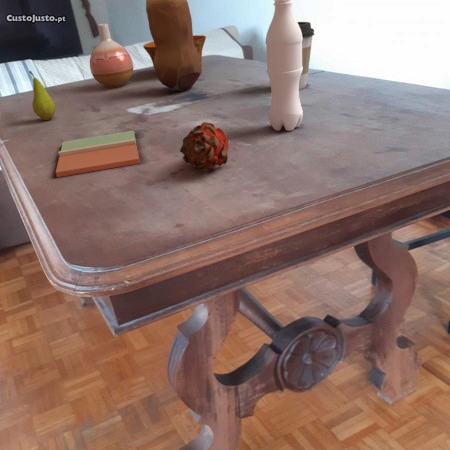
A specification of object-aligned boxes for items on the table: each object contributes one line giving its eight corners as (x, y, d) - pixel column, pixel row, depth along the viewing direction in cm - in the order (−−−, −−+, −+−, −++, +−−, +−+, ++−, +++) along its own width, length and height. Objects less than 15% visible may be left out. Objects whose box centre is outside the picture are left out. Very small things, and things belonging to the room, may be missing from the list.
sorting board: (57, 177, 90) (54, 168, 89) (63, 146, 106) (61, 138, 105) (139, 163, 92) (138, 154, 91) (134, 134, 108) (132, 126, 107)
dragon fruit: (208, 189, 82) (203, 174, 93) (244, 154, 80) (235, 143, 91) (173, 153, 79) (172, 142, 90) (209, 116, 77) (204, 109, 88)
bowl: (136, 76, 164) (130, 44, 159) (184, 63, 175) (179, 33, 169) (173, 81, 151) (168, 47, 145) (221, 67, 162) (218, 34, 156)
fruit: (52, 122, 125) (37, 73, 117) (33, 123, 126) (17, 74, 119) (62, 116, 129) (49, 68, 122) (43, 117, 130) (28, 69, 123)
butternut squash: (173, 84, 148) (159, -11, 133) (211, 84, 143) (201, -15, 128) (149, 96, 138) (131, -5, 124) (189, 96, 133) (175, -9, 118)
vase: (111, 80, 163) (98, 22, 152) (144, 80, 157) (133, 19, 147) (86, 90, 153) (70, 28, 143) (120, 91, 148) (106, 26, 137)
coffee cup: (314, 80, 133) (315, 19, 125) (313, 90, 124) (314, 25, 116) (274, 83, 136) (272, 23, 127) (270, 93, 127) (267, 29, 118)
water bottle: (264, 132, 100) (258, -8, 85) (274, 122, 105) (269, -12, 91) (298, 133, 97) (297, -11, 83) (306, 122, 103) (306, -15, 88)
